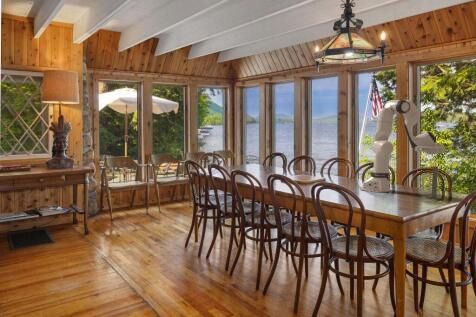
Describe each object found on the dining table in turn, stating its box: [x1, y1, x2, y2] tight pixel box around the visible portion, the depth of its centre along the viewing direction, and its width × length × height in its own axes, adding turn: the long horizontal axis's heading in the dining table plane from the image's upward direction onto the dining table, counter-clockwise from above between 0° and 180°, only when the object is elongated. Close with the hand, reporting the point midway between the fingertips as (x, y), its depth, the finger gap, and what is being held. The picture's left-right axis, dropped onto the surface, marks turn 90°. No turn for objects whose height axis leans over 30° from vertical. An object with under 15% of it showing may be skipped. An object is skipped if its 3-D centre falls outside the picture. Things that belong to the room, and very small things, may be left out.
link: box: [420, 173, 432, 196], centre depth 274 cm, size 6×5×14 cm
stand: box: [426, 165, 443, 200], centre depth 264 cm, size 9×11×22 cm
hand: (429, 149), depth 283 cm, fingers open, 8 cm apart
